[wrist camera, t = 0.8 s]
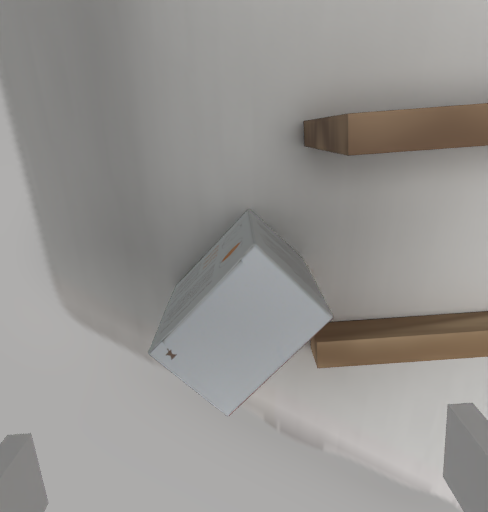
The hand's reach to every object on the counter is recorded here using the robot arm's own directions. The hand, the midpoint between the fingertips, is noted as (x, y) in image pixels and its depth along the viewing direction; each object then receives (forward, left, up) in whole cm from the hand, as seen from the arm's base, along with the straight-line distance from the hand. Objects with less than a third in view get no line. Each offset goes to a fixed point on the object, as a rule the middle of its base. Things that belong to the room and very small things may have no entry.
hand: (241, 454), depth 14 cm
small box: (0, 0, -18) cm, 19 cm away
